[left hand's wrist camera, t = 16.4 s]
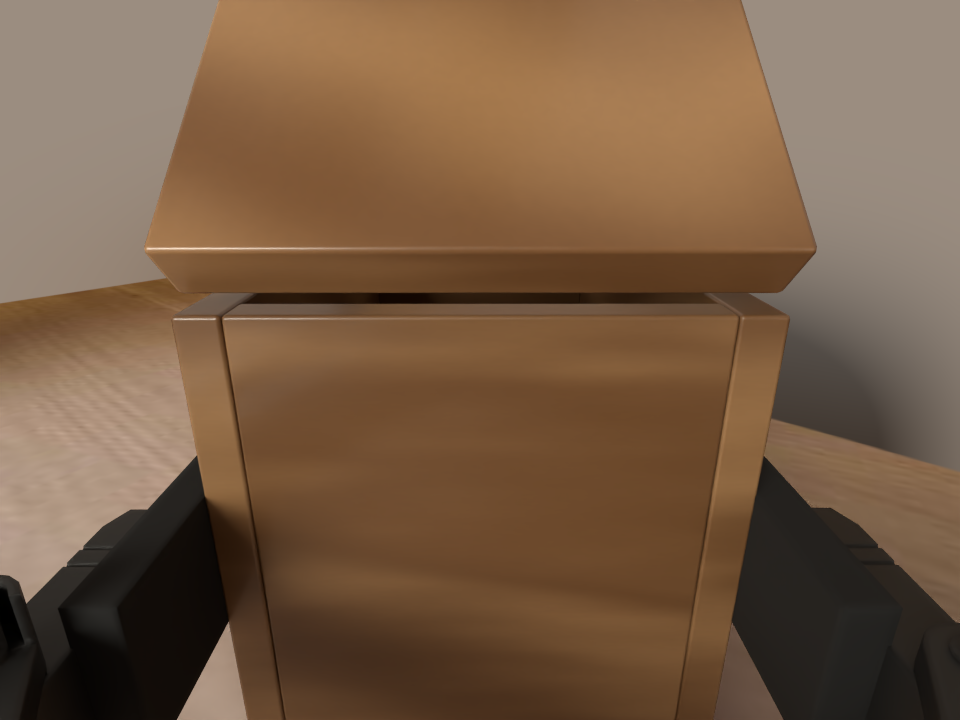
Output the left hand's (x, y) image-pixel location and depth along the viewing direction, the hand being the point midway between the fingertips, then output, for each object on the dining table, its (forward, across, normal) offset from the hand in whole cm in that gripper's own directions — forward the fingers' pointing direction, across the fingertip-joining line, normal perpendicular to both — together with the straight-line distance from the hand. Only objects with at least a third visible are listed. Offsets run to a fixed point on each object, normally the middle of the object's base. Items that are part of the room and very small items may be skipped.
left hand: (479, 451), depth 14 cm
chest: (+3, 0, -6) cm, 7 cm away
